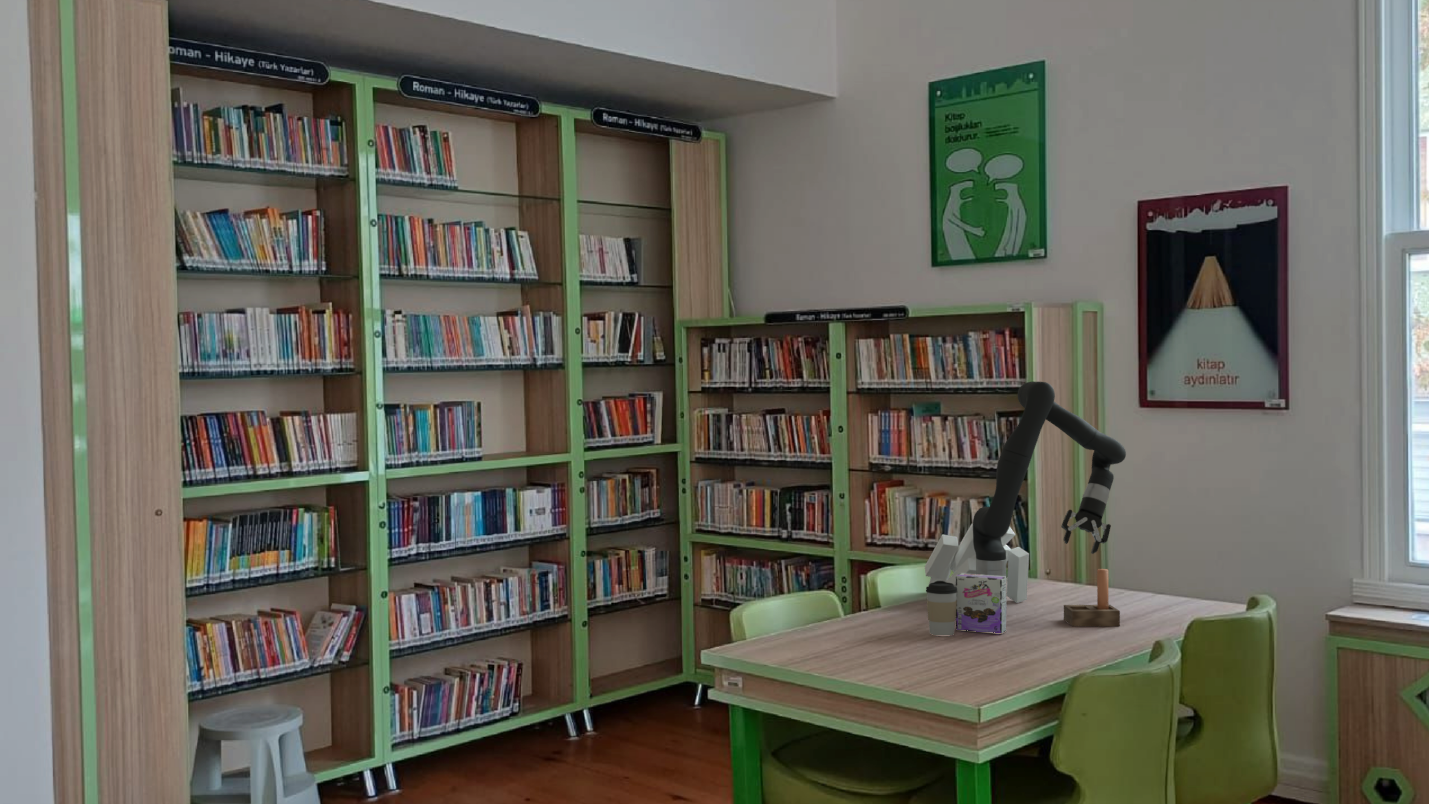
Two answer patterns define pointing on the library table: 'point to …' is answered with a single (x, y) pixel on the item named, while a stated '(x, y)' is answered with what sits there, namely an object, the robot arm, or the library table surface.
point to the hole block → (1091, 615)
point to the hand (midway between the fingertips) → (1079, 548)
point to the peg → (1102, 589)
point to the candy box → (981, 603)
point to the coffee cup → (941, 607)
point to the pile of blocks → (964, 561)
